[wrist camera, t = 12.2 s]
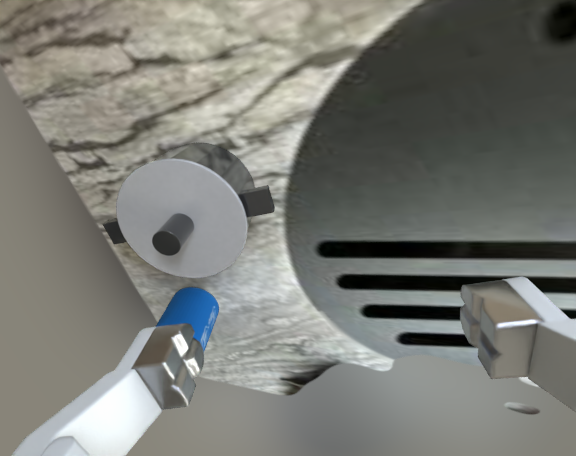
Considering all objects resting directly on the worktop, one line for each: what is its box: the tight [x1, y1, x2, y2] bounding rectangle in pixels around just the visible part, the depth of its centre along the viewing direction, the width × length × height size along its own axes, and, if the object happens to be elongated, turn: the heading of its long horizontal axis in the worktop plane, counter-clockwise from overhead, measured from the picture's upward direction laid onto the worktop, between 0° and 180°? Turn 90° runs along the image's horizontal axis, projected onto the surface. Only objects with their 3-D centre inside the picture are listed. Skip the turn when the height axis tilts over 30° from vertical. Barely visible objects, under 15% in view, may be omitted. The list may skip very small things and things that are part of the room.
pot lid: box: [116, 158, 248, 278], centre depth 28 cm, size 12×12×5 cm
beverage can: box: [156, 287, 219, 352], centre depth 38 cm, size 6×6×12 cm
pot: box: [103, 143, 275, 244], centre depth 32 cm, size 12×17×7 cm
